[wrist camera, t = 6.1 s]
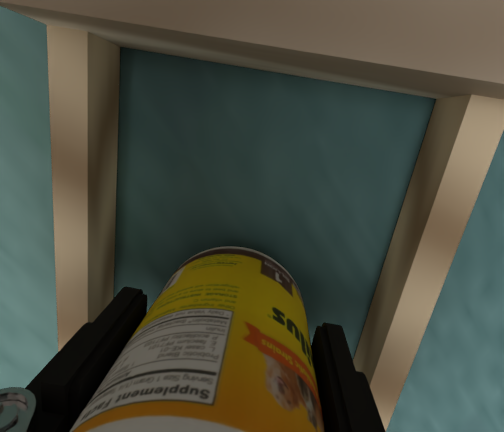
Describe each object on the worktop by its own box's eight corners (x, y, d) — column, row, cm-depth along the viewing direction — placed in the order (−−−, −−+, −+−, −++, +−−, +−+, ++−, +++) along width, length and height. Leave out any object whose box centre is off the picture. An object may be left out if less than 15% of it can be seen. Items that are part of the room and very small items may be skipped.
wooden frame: (86, -27, 10) (-25, -112, 6) (495, 38, 10) (629, -10, 6) (87, 476, 18) (35, 576, 14) (324, 522, 17) (338, 636, 13)
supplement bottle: (312, 351, 13) (415, 999, 4) (186, 364, 14) (-18, 939, 4) (293, 228, 12) (387, 796, 2) (152, 249, 12) (-304, 748, 3)
